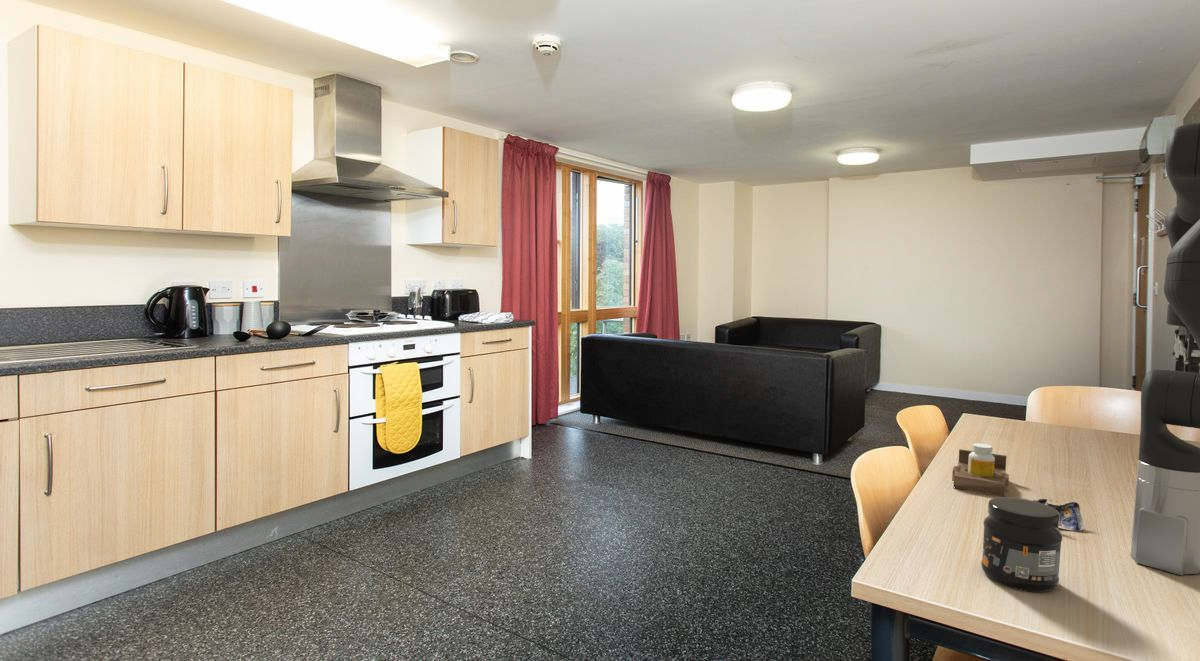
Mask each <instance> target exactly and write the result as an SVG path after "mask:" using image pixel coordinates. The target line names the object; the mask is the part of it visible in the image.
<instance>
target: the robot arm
mask: <svg viewBox="0 0 1200 661" xmlns="http://www.w3.org/2000/svg"><path fill="white" fill-rule="evenodd" d="M1164 168H1165V172H1166V175H1167V177H1168V180H1169V183H1170V184H1171V186H1172V189H1173V191H1174V192H1175V195H1176V207H1173V208H1172V209H1170V211H1168V213H1167V214H1166V215H1165V219H1164V228H1165V231H1166V235H1167V238H1168V242H1169V244H1170V247H1171V250H1170V251H1169V252H1168V254H1167V258H1166V266H1165V273H1164V274H1165V275H1164V276H1165V277H1164V285H1163V293H1164V296H1165V299H1166V300H1167V308H1166V310H1167V312H1166V321H1165V322H1166V324H1167V325H1169V326H1177V327H1179V328H1176V329H1175V330H1174V336H1173V348H1172V349H1173V350H1172V354H1171V355H1172V357H1173V359H1174V360H1175V361H1174V362H1175V363H1174V370H1169V369H1152V370H1149V371H1148V372H1147V373H1146V374H1145V376H1144V378H1143V381H1142V383H1141V384H1142V385H1141V389H1140V390H1141V392H1140V393H1141V394H1140V431H1139V432H1140V433H1139V434H1140V435H1139V446H1138V447H1139V448H1138V460H1137V473H1136V481H1135V482H1136V483H1135V494H1134V495H1135V496H1134V507H1133V508H1134V509H1133V518H1132V519H1133V522H1132V535H1131V547H1130V556H1131V557H1132V558H1133V559H1134V562H1135V563H1137V564H1139V565H1144V566H1147V567H1151V568H1154V569H1157V570H1161V571H1165V572H1168V573H1171V574H1174V575H1179V576H1183V575H1197V574H1200V447H1199V446H1196V445H1193V444H1191V443H1189V442H1188V441H1185V440H1184V439H1182V438H1180V437H1178V436H1176V435H1175V433H1172V431H1171V430H1170V429H1169V428H1168V427H1167V426H1168V425H1170V426H1176V427H1177V426H1178V427H1185V428H1191V429H1192V428H1193V429H1199V430H1200V122H1195V123H1187V124H1184V125H1180V126H1178V127H1176V128H1174V129H1173V130H1172V131H1171V132H1170V134H1169V136H1168V138H1167V142H1166V147H1165V153H1164Z"/></svg>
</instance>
